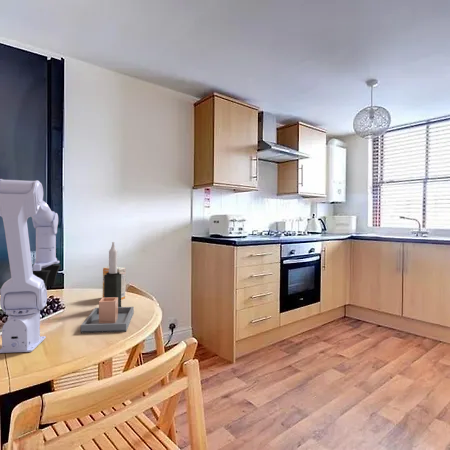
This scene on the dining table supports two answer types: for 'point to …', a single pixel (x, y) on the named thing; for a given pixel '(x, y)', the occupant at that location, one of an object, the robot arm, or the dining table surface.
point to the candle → (112, 277)
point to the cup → (108, 310)
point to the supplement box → (123, 279)
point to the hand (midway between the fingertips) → (45, 288)
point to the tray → (119, 326)
